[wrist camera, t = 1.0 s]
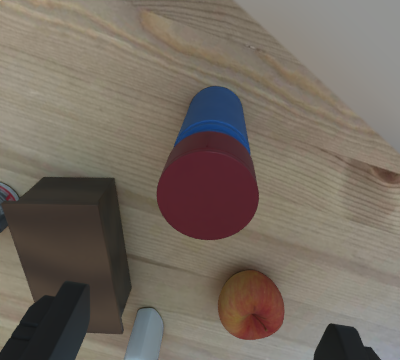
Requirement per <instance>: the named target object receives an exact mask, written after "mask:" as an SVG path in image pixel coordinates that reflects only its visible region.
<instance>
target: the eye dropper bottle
mask: <svg viewBox="0 0 400 360" xmlns="http://www.w3.org/2000/svg"><path fill="white" fill-rule="evenodd" d="M163 330H164V326H163V321H162V318H161V316H160V315H159V313H158V312H157V311H156V310H155V309H153V308H143V309H139V310H138V312H137V315H136V319H135V322H134V326H133V329H132V332H131V336H130V339H129V343H128V346H127V350H126V353H125V357H124V360H158V357H159V352H160V347H161V341H162V336H163Z"/></svg>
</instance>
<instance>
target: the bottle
mask: <svg viewBox="0 0 400 360" xmlns="http://www.w3.org/2000/svg"><path fill="white" fill-rule="evenodd" d="M205 131H214V132H220V133H224V134H227V135H229V136H231V137H233V138H235V139H236V140H238V141H239V142H240V143H241V144H242V145H243V146H244V147H245V148H246V149H247V151H248V152H249V154H250V147H249V142H248V136H247V131H246V125H245V120H244V114H243V109H242V105H241V102H240V100H239V98H238V97H237V96H236V95H235V94H234V93H233V92H232V91H230V90H229V89H227V88H224V87H219V86H213V87H208V88H205V89H203V90H201V91H200V92H199V93H198V94H196V96H195V97H194V98H193V100H192V102H191V104H190V106H189V109H188V111H187V114H186V116H185V119H184V121H183V124H182V127H181V129H180V132H179V134H178V137H177V139H176V142H175V144H174V147H175V146H176V145H177V144H178V143H179V142H180V141H181V140H183V139H184V138H186V137H188V136H190V135H192V134H195V133H198V132H205Z"/></svg>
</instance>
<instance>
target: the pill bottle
mask: <svg viewBox="0 0 400 360" xmlns="http://www.w3.org/2000/svg"><path fill="white" fill-rule="evenodd" d="M18 200H19V197H18V196H17V194H16V193H15V192H14V191H13V189H11V188H10V187H9V186H7V185H5V184H3V183H1V182H0V233H1V232H2V231H3V230H4V229H5V228H6V227H7V226H8V223H7V220H6V217H5V214H4V211H3V209H2V206H1V203H2V202H3V201H18Z"/></svg>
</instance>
